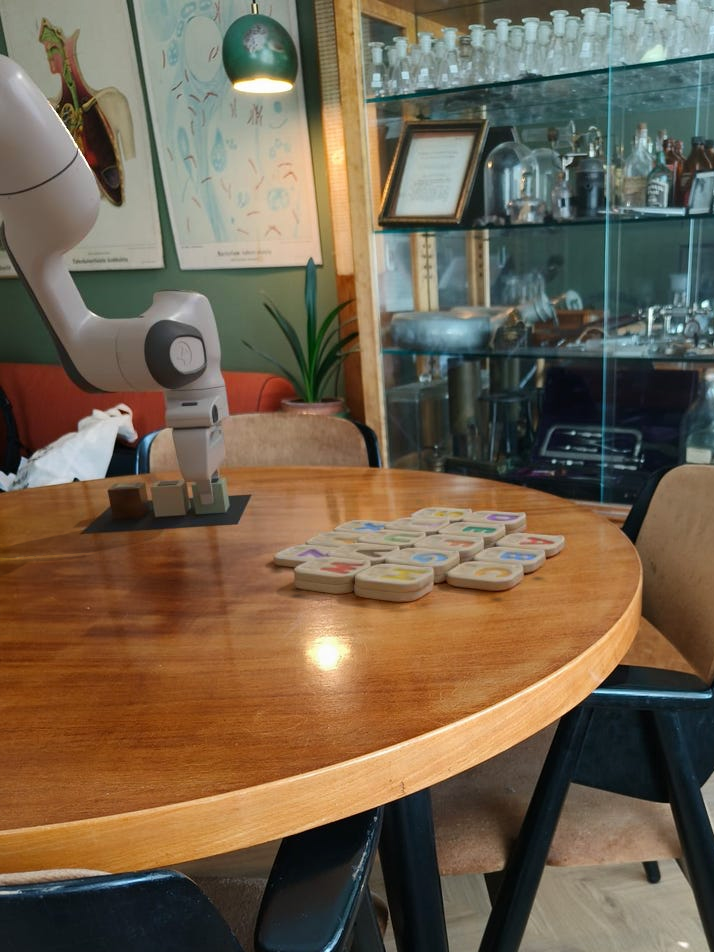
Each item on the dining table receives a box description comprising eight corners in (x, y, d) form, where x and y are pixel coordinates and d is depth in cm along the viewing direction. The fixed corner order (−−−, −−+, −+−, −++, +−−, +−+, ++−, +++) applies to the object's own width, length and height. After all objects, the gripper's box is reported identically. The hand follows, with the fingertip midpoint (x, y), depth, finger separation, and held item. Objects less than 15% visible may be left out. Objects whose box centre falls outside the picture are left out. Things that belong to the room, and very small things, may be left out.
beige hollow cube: (155, 516, 133) (150, 486, 132) (161, 510, 138) (156, 480, 136) (185, 515, 134) (181, 485, 132) (190, 508, 138) (186, 479, 136)
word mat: (79, 536, 125) (79, 533, 125) (114, 504, 144) (114, 502, 144) (237, 526, 128) (237, 524, 128) (252, 496, 146) (251, 494, 146)
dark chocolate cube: (112, 519, 133) (107, 489, 131) (120, 512, 137) (114, 483, 135) (143, 517, 133) (138, 487, 131) (150, 510, 137) (144, 481, 136)
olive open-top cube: (195, 514, 134) (191, 484, 132) (200, 507, 138) (195, 478, 136) (225, 512, 135) (221, 482, 133) (229, 505, 139) (225, 476, 137)
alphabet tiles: (380, 514, 132) (379, 498, 131) (586, 534, 118) (587, 516, 118) (231, 579, 104) (228, 559, 103) (478, 614, 91) (477, 592, 90)
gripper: (187, 400, 140) (200, 486, 145) (162, 417, 121) (178, 516, 126) (228, 398, 140) (239, 484, 146) (209, 415, 122) (223, 513, 127)
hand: (211, 499), depth 136 cm, fingers closed on olive open-top cube, 4 cm apart
